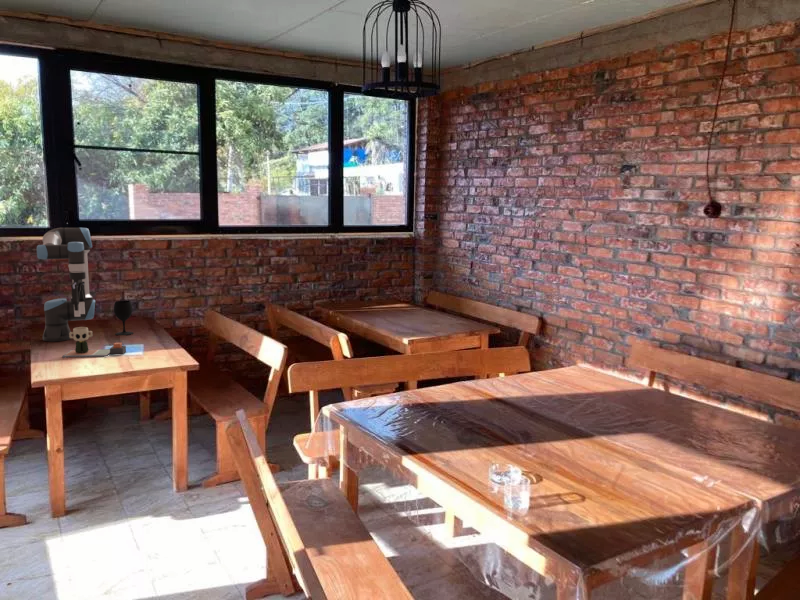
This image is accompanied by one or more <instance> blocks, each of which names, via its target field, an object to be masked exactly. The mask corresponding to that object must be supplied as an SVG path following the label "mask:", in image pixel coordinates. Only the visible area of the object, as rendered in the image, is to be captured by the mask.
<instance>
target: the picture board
mask: <svg viewBox="0 0 800 600" xmlns="http://www.w3.org/2000/svg"><path fill="white" fill-rule="evenodd" d="M109 354H110V348H99V349H98V348H97V349H96V348H94V349H93V348H91V349H89V348H88V351H87V352H83V351H81V353H77V352H76V351H75V349H70V350H69V351H68V352H66V353H64V354H63V355H62V356H61V358H62V357H63V358H62V359H69V358H68V357H81V358H105V357H104V356H108V355H109ZM109 356H110V355H109ZM109 356H108V357H109ZM65 357H66V358H65Z"/></svg>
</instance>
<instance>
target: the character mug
mask: <svg viewBox="0 0 800 600" xmlns="http://www.w3.org/2000/svg"><path fill="white" fill-rule="evenodd" d="M71 334H72V335H71ZM69 337H70V338H71V339H73V340H74V341H76V342H75V349H74V350H75V351H76V352H77V353H81V351H83V352H87V351H88V349H89V346H88V345H89V344H88V341H87V340H89V338H92V337H93V331H92V330H89V328H88V327H86V326H79V327H78V326H77V327H74V328H73V329H72V331H71V332H70V333H69Z"/></svg>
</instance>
